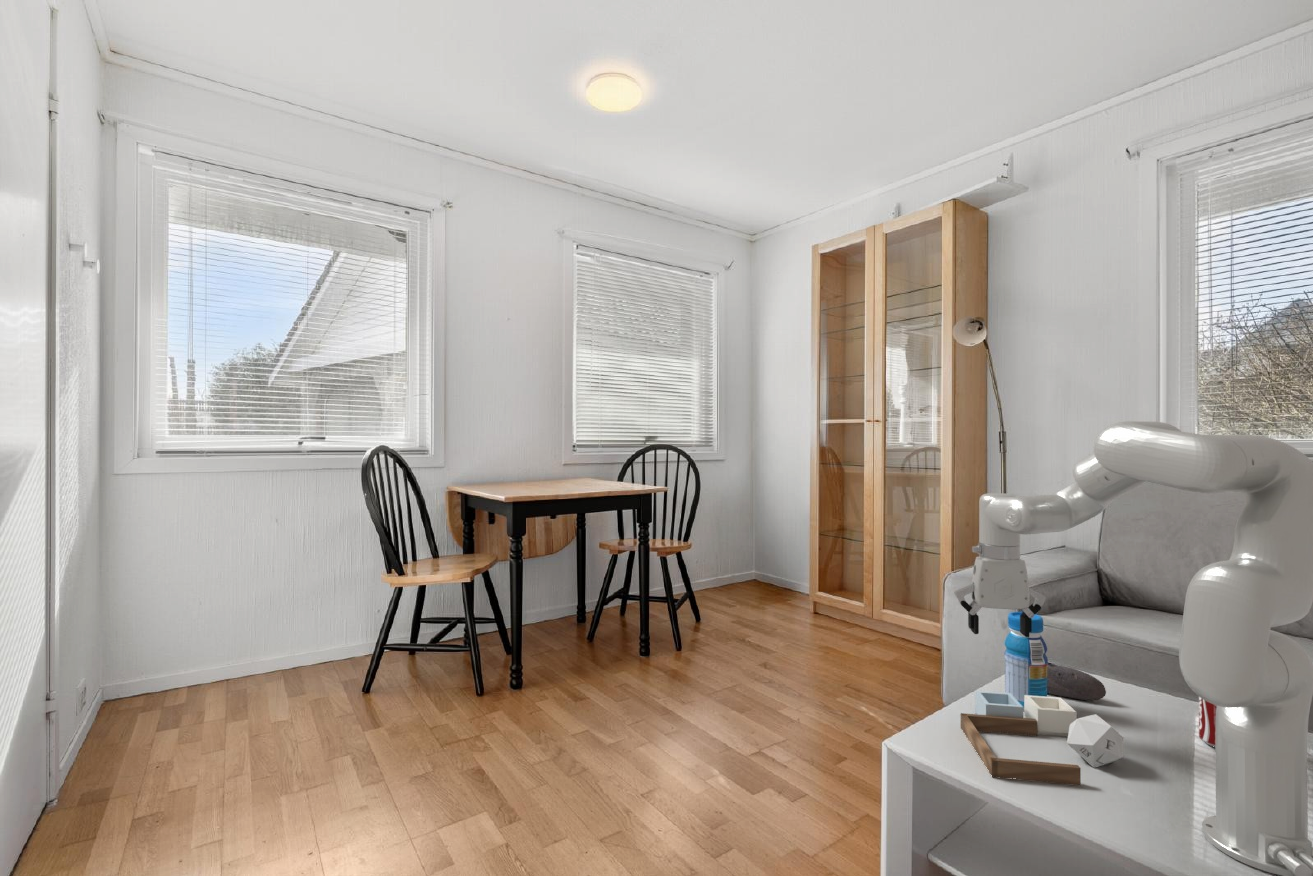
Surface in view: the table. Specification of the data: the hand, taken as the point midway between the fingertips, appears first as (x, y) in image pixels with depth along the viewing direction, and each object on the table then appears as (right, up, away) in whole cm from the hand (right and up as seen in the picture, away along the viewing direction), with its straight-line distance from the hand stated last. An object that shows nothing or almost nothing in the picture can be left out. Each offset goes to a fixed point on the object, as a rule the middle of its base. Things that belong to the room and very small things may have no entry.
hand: (999, 633), depth 130 cm
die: (+9, -19, -16) cm, 26 cm away
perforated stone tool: (+23, -19, +13) cm, 32 cm away
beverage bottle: (+11, -19, +8) cm, 23 cm away
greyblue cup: (0, -19, 0) cm, 19 cm away
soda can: (+37, -19, -10) cm, 43 cm away
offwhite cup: (+9, -18, -3) cm, 21 cm away
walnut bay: (-4, -18, -13) cm, 23 cm away
